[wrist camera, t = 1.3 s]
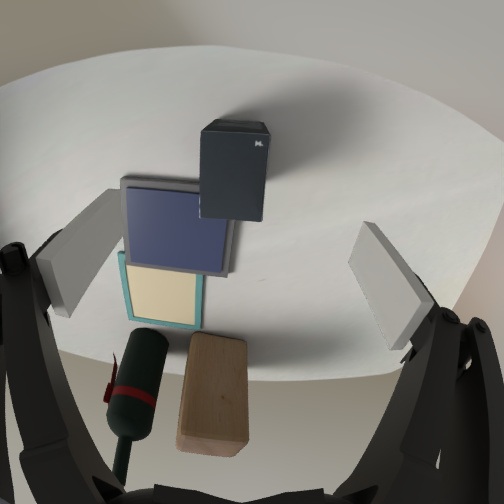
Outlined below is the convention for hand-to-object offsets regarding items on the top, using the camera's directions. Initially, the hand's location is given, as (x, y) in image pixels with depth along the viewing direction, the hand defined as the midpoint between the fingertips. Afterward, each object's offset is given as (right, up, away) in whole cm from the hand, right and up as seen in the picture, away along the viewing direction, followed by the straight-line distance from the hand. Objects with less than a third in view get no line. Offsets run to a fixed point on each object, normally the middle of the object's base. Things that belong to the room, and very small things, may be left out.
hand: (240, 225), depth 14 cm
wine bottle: (-20, -18, +34) cm, 43 cm away
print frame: (-14, -8, +27) cm, 32 cm away
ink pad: (-9, +2, +21) cm, 23 cm away
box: (-1, +10, +17) cm, 20 cm away
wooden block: (-6, -20, +35) cm, 41 cm away
